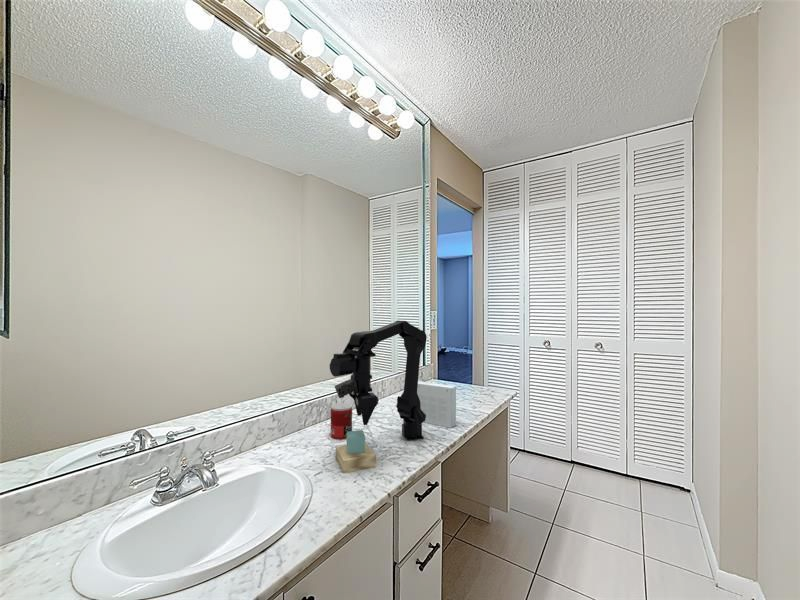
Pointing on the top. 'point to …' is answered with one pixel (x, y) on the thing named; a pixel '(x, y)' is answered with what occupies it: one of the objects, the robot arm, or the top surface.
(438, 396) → the skincare box
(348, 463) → the bamboo box
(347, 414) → the canned food
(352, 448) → the teal cube
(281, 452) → the top surface
